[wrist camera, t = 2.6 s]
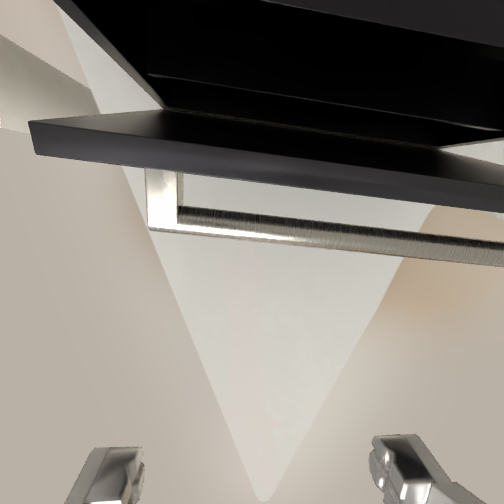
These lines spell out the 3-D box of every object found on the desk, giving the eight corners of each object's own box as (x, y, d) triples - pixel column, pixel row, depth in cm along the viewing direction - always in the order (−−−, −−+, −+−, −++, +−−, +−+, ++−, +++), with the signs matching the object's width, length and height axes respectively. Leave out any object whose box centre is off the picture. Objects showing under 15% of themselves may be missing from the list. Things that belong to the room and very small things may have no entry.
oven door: (421, 194, 43) (623, 296, 20) (162, 160, 39) (55, 241, 16) (440, 150, 39) (705, 213, 17) (161, 109, 35) (26, 120, 13)
